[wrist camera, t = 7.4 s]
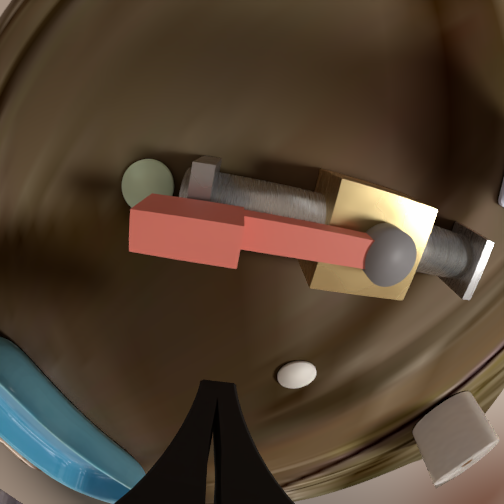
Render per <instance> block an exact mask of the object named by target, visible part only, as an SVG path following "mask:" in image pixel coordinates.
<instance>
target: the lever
mask: <svg viewBox="0 0 504 504" xmlns="http://www.w3.org/2000/svg"><path fill="white" fill-rule="evenodd" d="M240 249H241V250H247V251H254V252H260V253H266V254H272V255H279V256H285V257H291V258H297V259H304V260H310V261H316V262H322V263H329V264H335V265H341V266H348V267H354V268H360V269H362V270H363V272H364V273H365V274H366V275H367V277H368V278H369V279H370V280H371V282H373V283H374V284H376V285H378V286H381V287H389V286H393V285H395V284H397V283H399V282H401V281H402V280H403V279H404V278H406V277H407V275H408V274H409V273H410V272H411V270H412V268H413V266H414V264H415V261H416V255H417V250H416V245H415V242H414V241H413V239H412V238H411V237H410V236H409V235H408V234H407V233H405V232H404V231H402V230H401V229H399V228H398V227H397V226H395V225H393V224H390V223H381V224H377V225H375V226H373V227H371V228H370V229H369V230H367V231H366V232H365V233H364V232H359V231H354V230H350V229H345V228H340V227H335V226H330V225H325V224H320V223H315V222H310V221H305V220H300V219H294V218H289V217H284V216H278V215H273V214H267V213H261V212H256V211H250V210H244V207H240V206H234V205H228V204H222V203H215V202H209V201H202V200H196V199H189V198H182V197H175V196H168V195H161V194H153V193H152V194H150V195H149V196H147V197H146V198H145V199H143V200H142V201H141V202H139V203H138V204H136V205H135V206H134V207H132V208H131V209H130V227H129V251H130V252H136V253H142V254H147V255H153V256H159V257H165V258H171V259H177V260H183V261H189V262H196V263H202V264H208V265H214V266H221V267H227V268H233V269H237V264H238V259H239V254H240Z"/></svg>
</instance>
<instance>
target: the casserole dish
mask: <svg viewBox="0 0 504 504" xmlns="http://www.w3.org/2000/svg"><path fill="white" fill-rule="evenodd" d="M0 437H1V438H2V439H3V440H4V441H5V442H7V443H8V444H9V445H10V446H11V447H12V448H13V449H15V450H16V451H17V452H18V453H19V454H21V455H22V456H23V457H24V458H26V459H27V460H28V461H29V462H31V463H32V464H33V465H35V466H36V467H37V468H39V469H40V470H42V471H43V472H44V473H46V474H47V475H49V476H50V477H52V478H53V479H55V480H57V481H58V482H60V483H62V484H63V485H65V486H67V487H69V488H71V489H74V490H75V491H78V492H80V493H83V494H85V495H88V496H91V497H93V498H96V499H99V500H102V501H105V502H108V503H112V504H114V503H115V502H116V501H118V500H119V499H120V498H121V497H122V496H124V495H125V494H126V493H127V492H128V491H130V490H131V489H132V488H133V487H134V486H135V485H136V484H137V483H138V482H139V481H140V480H141V479H142V478H143V477H144V476H145V475H146V474H145V472H144V470H143V468H142V467H141V466H140V464H139V463H138V462H137V461H136V460H135V459H134V458H133V457H132V456H131V455H130V454H128V453H127V452H126V451H125V450H124V449H122V448H121V447H120V446H119V445H118V444H117V443H115V442H114V441H113V440H112V439H110V438H109V437H108V436H107V435H106V434H105V433H103V432H102V431H101V430H100V429H99V428H98V427H96V426H95V425H94V424H93V423H92V422H91V421H90V420H88V419H87V418H86V417H85V416H84V415H83V414H82V413H81V412H80V411H79V410H78V409H77V408H76V407H75V406H74V405H73V404H72V403H71V402H70V401H69V400H68V399H67V398H66V397H65V396H64V395H63V394H62V393H61V392H60V391H59V390H58V389H57V388H56V387H55V386H54V385H53V383H52V382H51V381H50V380H49V379H48V378H47V377H46V376H45V375H44V374H43V373H42V371H41V370H40V369H39V368H38V367H37V366H36V365H35V364H34V363H33V361H32V360H31V359H30V358H29V357H28V356H27V355H26V354H25V353H24V352H23V351H22V350H21V349H20V348H19V347H18V346H17V345H15V344H14V343H13V342H11V341H9V340H8V339H5V338H3V337H0Z"/></svg>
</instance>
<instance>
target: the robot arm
mask: <svg viewBox="0 0 504 504" xmlns="http://www.w3.org/2000/svg"><path fill="white" fill-rule="evenodd" d="M498 202H499V205H501V206H502V207H504V178H503V182H502V187H501V191H500V195H499V199H498ZM212 434H213V440H214V464H215V491H214V504H295V503H294V502H293V501H292V500H291V499H290V498H289V497H288V495H287V494H286V493H285V492H284V490H283V489H282V488H281V486H280V485H279V484H278V482H277V481H276V480H275V478H274V477H273V475H272V474H271V472H270V471H269V469H268V468H267V466H266V464H265V463H264V461H263V459H262V457H261V456H260V454H259V452H258V450H257V448H256V446H255V444H254V442H253V440H252V437H251V435H250V433H249V430H248V428H247V425H246V422H245V420H244V417H243V414H242V411H241V407H240V404H239V400H238V395H237V389H236V385H235V384H234V383H227V382H218V381H210V380H202V381H200V386H199V389H198V392H197V395H196V398H195V400H194V402H193V405H192V407H191V409H190V411H189V413H188V415H187V417H186V419H185V421H184V423H183V424H182V426H181V428H180V429H179V431H178V433H177V434H176V436H175V438H174V439H173V441H172V442H171V444H170V445H169V446H168V448H167V449H166V451H165V452H164V453H163V455H162V456H161V457H160V458H159V460H158V461H157V462H156V463H155V465H154V466H153V467H152V468H151V469H150V470H149V472H148V473H147V474H146V475H145V476H144V477H143V478H142V479H141V480H140V481H139V482H138V483H137V484H136V485H135V486H134V487H133V488H132V489H131V490H130V491H128V492H127V493H126V494H125V495H124V496H122V497H121V498H120V499H119V500H118V501H116V502H115V503H114V504H205V495H206V475H207V462H208V456H209V451H210V445H211V439H212ZM0 504H22V503H21V502H19V501H17V500H16V499H15V498H13V497H12V496H10V495H8V494H7V493H5V492H4V491H3V490H1V489H0Z"/></svg>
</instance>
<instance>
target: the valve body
mask: <svg viewBox="0 0 504 504" xmlns="http://www.w3.org/2000/svg"><path fill="white" fill-rule="evenodd" d="M221 160H222V158H217V157H211V156H202V157H200V158H198V159H197V160H195V161H193V162H192V168H188V169H187V170H186V172H185V175H184V177H183V180H182V184H181V188H180V192H179V197H182V198H189V199H196V200H202V201H209V202H215V203H222V204H228V205H234V206H240V207H244V210H250V211H256V212H261V213H267V214H273V215H278V216H284V217H289V218H294V219H300V220H305V221H310V222H315V223H320V224H325V225H330V226H335V227H340V228H345V229H350V230H354V231H359V232H364V233H365V232H366V231H367V230H369V229H370V228H371V227H373V226H375V225H377V224H381V223H390V224H393V225H395V226H397V227H398V228H399V229H401V230H402V231H404V232H405V233H407V234H408V235H409V236H410V237H411V238H412V239H413V241H414V242H415V245H416V250H417V255H416V261H415V264H414V266H413V268H412V270H411V272H410V273H409V274H408V275H407V277H406V278H404V279H403V280H402V281H401V282H399V283H397V284H395V285H393V286H389V287H381V286H378V285H376V284H374V283H373V282H371V280H370V279H369V278H368V277H367V275H366V274H365V273H364V272H363V270H362V269H360V268H354V267H348V266H341V265H335V264H329V263H322V262H316V261H310V260H304V259H298V262H299V264H300V266H301V269H302V271H303V273H304V276H305V278H306V281H307V283H308V285H309V288H312V289H319V290H326V291H333V292H340V293H348V294H355V295H363V296H371V297H378V298H386V299H395V300H403V299H404V297H405V295H406V292H407V290H408V288H409V286H410V283H411V281H412V279H413V276H414V274H415V272H421V273H426V274H431V275H436V276H438V277H439V278H440V279H441V280H442V281H443V282H444V283H446V284H447V285H448V286H449V287H450V288H451V289H452V290H453V291H454V292H455V293H456V294H457V295H458V296H459V297H460V298H462V299H465V300H470V299H471V297H472V295H473V293H474V291H475V289H476V286H477V284H478V282H479V280H480V278H481V275H482V273H483V271H484V268H485V266H486V263H487V261H488V259H489V256H490V253H491V251H492V248H493V245H494V242H492V241H491V240H489V239H487V238H486V237H484V236H482V235H481V234H479V233H477V232H475V231H474V230H472V229H470V228H468V227H467V226H465V225H463V224H461V223H458V222H456V221H455V223H454V225H453V228H452V231H450V230H447V229H444V228H441V227H438V226H435V225H433V224H434V221H435V218H436V215H437V211H438V209H436V208H434V207H432V206H429V205H427V204H425V203H423V202H421V201H419V200H417V199H415V198H413V197H411V196H408V195H406V194H404V193H401V192H398V191H395V190H392V189H389V188H386V187H383V186H380V185H377V184H374V183H370V182H367V181H364V180H361V179H357V178H354V177H350V176H347V175H343V174H340V173H336V172H332V171H329V170H325V169H321V168H320V170H319V174H318V178H317V182H316V186H315V190H314V191H310V190H306V189H301V188H297V187H292V186H288V185H283V184H278V183H273V182H268V181H263V180H258V179H253V178H248V177H243V176H237V175H232V174H226V173H220V172H219V171H220V166H221Z"/></svg>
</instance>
